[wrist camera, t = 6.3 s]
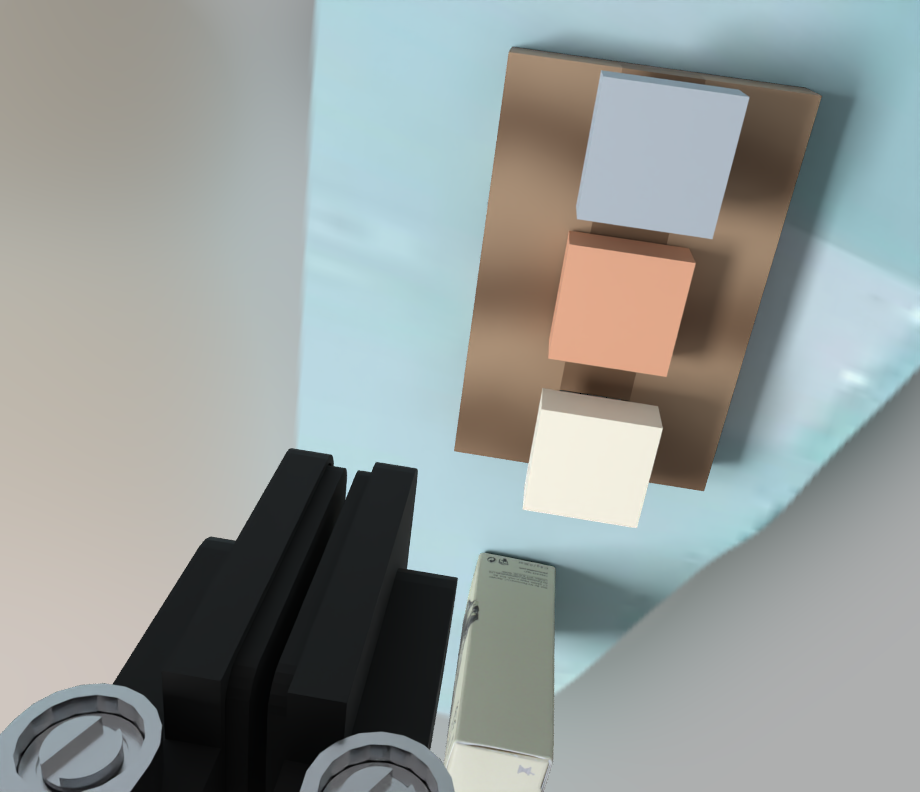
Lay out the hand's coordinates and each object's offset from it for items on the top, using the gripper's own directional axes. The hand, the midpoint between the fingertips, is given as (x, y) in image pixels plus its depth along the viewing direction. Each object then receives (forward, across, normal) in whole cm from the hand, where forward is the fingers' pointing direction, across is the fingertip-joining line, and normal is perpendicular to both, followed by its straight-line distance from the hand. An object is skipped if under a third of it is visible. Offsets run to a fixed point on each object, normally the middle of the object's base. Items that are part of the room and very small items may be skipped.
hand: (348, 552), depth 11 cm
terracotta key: (+29, -6, +5) cm, 30 cm away
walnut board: (+29, -6, +5) cm, 30 cm away
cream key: (+27, -6, +11) cm, 30 cm away
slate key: (+27, -6, -2) cm, 28 cm away
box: (+29, -4, +24) cm, 38 cm away
